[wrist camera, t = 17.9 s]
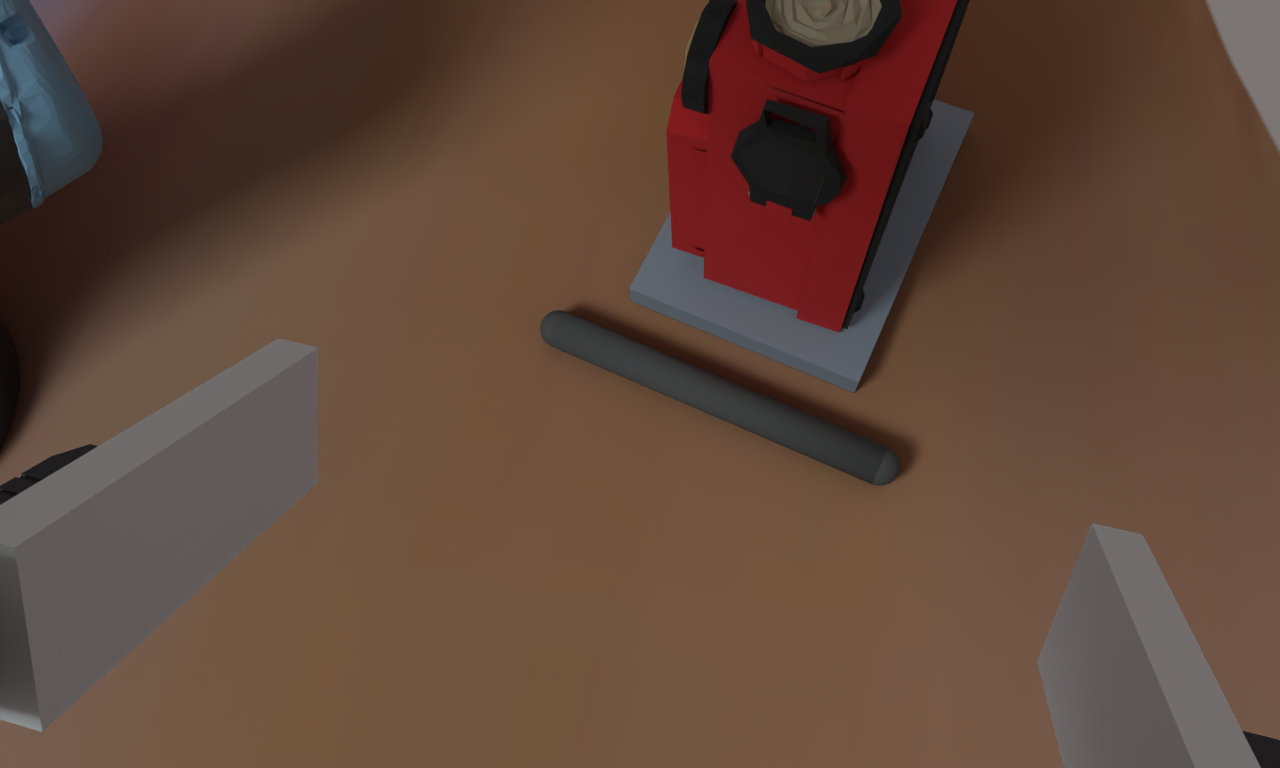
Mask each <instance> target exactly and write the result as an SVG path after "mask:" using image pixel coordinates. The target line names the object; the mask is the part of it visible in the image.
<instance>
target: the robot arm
mask: <svg viewBox="0 0 1280 768" xmlns="http://www.w3.org/2000/svg"><path fill="white" fill-rule="evenodd" d="M102 144H103V140H102V132H101V128H100V125H99V123H98V121H97V119H96V117H95V115H94V113H93V111H92V109H91V107H90V105H89V103H88V101H87V99H86V97H85V95H84V93H83V91H82V90H81V88H80V86H79V84H78V82H77V81H76V79H75V77H74V75H73V73H72V72H71V70H70V68H69V66H68V65H67V63H66V61H65V60H64V58H63V56H62V54H61V53H60V51H59V49H58V48H57V46H56V44H55V42H54V41H53V39H52V37H51V36H50V34H49V32H48V31H47V29H46V27H45V26H44V24H43V23H42V21H41V19H40V18H39V16H38V14H37V13H36V11H35V9H34V8H33V6H32V5H31V3H30V1H29V0H0V224H1V223H3V222H5V221H7V220H9V219H11V218H13V217H15V216H17V215H19V214H21V213H23V212H25V211H27V210H29V209H33V208H36V207H38V206H40V205H42V203H43V202H44V199H45V198H46V197H48V196H49V195H51V194H53V193H54V192H56V191H57V190H59V189H61V188H62V187H64V186H65V185H67V184H69V183H70V182H72V181H74V180H75V179H77V178H78V177H80V176H82V175H83V174H85V173H87V172H88V171H90V170H91V169H92V167H93V166H94V165H95V164H96V161H97V160H98V158H99V157H100V155H101V151H102ZM18 384H19V371H18V362H17V357H16V353H15V349H14V346H13V343H12V341H11V338H10V336H9V335H8V333H7V331H6V329H5V328H4V326H3V325H2V323H1V322H0V445H1V443H2V441H3V439H4V437H5V435H6V433H7V430H8V428H9V425H10V423H11V420H12V417H13V413H14V410H15V406H16V401H17V395H18ZM317 483H318V347H314V346H309V345H305V344H301V343H296V342H292V341H287V340H283V339H279V338H278V339H277V340H275V341H273V342H272V343H270V344H268V345H267V346H265V347H263V348H262V349H260V350H258V351H257V352H255V353H253V354H252V355H250V356H248V357H247V358H245V359H243V360H242V361H240V362H238V363H236V364H235V365H233V366H231V367H230V368H228V369H226V370H225V371H223V372H221V373H220V374H218V375H216V376H215V377H213V378H211V379H210V380H208V381H206V382H205V383H203V384H201V385H200V386H198V387H196V388H195V389H193V390H191V391H190V392H188V393H186V394H185V395H183V396H181V397H180V398H178V399H176V400H175V401H173V402H171V403H170V404H168V405H166V406H165V407H163V408H161V409H160V410H158V411H156V412H155V413H153V414H151V415H150V416H148V417H146V418H145V419H143V420H141V421H140V422H138V423H136V424H135V425H133V426H131V427H130V428H128V429H126V430H125V431H123V432H121V433H120V434H118V435H116V436H115V437H113V438H111V439H110V440H108V441H106V442H105V443H103V444H101V445H100V446H95V445H91V444H89V445H86V446H83V447H80V448H77V449H73V450H70V451H67V452H64V453H61V454H58V455H54V456H51V457H50V458H48V459H46V460H44V461H43V462H41V463H39V464H37V465H36V466H34V467H32V468H31V469H29V470H27V471H25V472H24V473H22V474H21V477H20V478H17V477H15V478H13V479H11V480H10V481H8V482H6V483H5V484H3V485H1V486H0V720H3V721H7V722H10V723H13V724H17V725H20V726H23V727H27V728H30V729H33V730H37V731H40V732H43V731H44V730H45V729H46V728H48V727H49V726H50V725H51V724H52V723H53V722H54V721H55V720H56V719H57V718H59V717H60V716H61V715H62V714H63V713H64V712H65V711H66V710H67V709H69V708H70V707H71V706H72V705H73V704H74V703H75V702H76V701H77V700H78V699H80V698H81V697H82V696H83V695H84V694H85V693H86V692H87V691H88V690H89V689H91V688H92V687H93V686H94V685H95V684H96V683H97V682H98V681H99V680H101V679H102V678H103V677H104V676H105V675H106V674H107V673H108V672H109V671H110V670H112V669H113V668H114V667H115V666H116V665H117V664H118V663H119V662H120V661H122V660H123V659H124V658H125V657H126V656H127V655H128V654H129V653H130V652H131V651H133V650H134V649H135V648H136V647H137V646H138V645H139V644H140V643H141V642H142V641H144V640H145V639H146V638H147V637H148V636H149V635H150V634H151V633H152V632H154V631H155V630H156V629H157V628H158V627H159V626H160V625H161V624H162V623H163V622H165V621H166V620H167V619H168V618H169V617H170V616H171V615H172V614H173V613H175V612H176V611H177V610H178V609H179V608H180V607H181V606H182V605H183V604H184V603H186V602H187V601H188V600H189V599H190V598H191V597H192V596H193V595H194V594H195V593H197V592H198V591H199V590H200V589H201V588H202V587H203V586H204V585H205V584H207V583H208V582H209V581H210V580H211V579H212V578H213V577H214V576H215V575H216V574H218V573H219V572H220V571H221V570H222V569H223V568H224V567H225V566H226V565H228V564H229V563H230V562H231V561H232V560H233V559H234V558H235V557H236V556H237V555H239V554H240V553H241V552H242V551H243V550H244V549H245V548H246V547H247V546H248V545H250V544H251V543H252V542H253V541H254V540H255V539H256V538H257V537H258V536H260V535H261V534H262V533H263V532H264V531H265V530H266V529H267V528H268V527H269V526H271V525H272V524H273V523H274V522H275V521H276V520H277V519H278V518H279V517H281V516H282V515H283V514H284V513H285V512H286V511H287V510H288V509H289V508H290V507H292V506H293V505H294V504H295V503H296V502H297V501H298V500H299V499H300V498H301V497H303V496H304V495H305V494H306V493H307V492H308V491H309V490H310V489H311V488H313V487H314V486H315V485H316V484H317ZM1037 664H1038V668H1039V671H1040V675H1041V679H1042V683H1043V687H1044V691H1045V695H1046V699H1047V703H1048V707H1049V711H1050V715H1051V719H1052V723H1053V726H1054V730H1055V734H1056V738H1057V742H1058V746H1059V750H1060V754H1061V758H1062V762H1063V766H1064V768H1280V741H1279V740H1277V739H1273V738H1269V737H1265V736H1261V735H1257V734H1253V733H1249V732H1245V731H1242V730H1241V728H1240V726H1239V724H1238V722H1237V720H1236V718H1235V716H1234V714H1233V712H1232V710H1231V708H1230V706H1229V704H1228V702H1227V700H1226V698H1225V696H1224V694H1223V692H1222V690H1221V688H1220V686H1219V684H1218V682H1217V680H1216V678H1215V676H1214V674H1213V672H1212V671H1211V669H1210V667H1209V665H1208V663H1207V661H1206V659H1205V657H1204V655H1203V653H1202V651H1201V649H1200V647H1199V645H1198V643H1197V641H1196V639H1195V637H1194V635H1193V633H1192V631H1191V629H1190V627H1189V625H1188V623H1187V621H1186V619H1185V617H1184V615H1183V613H1182V611H1181V609H1180V607H1179V605H1178V603H1177V601H1176V599H1175V597H1174V596H1173V594H1172V592H1171V590H1170V588H1169V586H1168V584H1167V582H1166V580H1165V578H1164V576H1163V574H1162V572H1161V570H1160V568H1159V566H1158V564H1157V562H1156V560H1155V558H1154V556H1153V554H1152V552H1151V550H1150V548H1149V546H1148V544H1147V542H1146V540H1145V538H1144V536H1143V535H1142V534H1138V533H1133V532H1129V531H1125V530H1120V529H1116V528H1111V527H1107V526H1102V525H1098V524H1094V523H1092V524H1091V526H1090V529H1089V531H1088V534H1087V536H1086V539H1085V541H1084V544H1083V546H1082V549H1081V551H1080V554H1079V556H1078V559H1077V561H1076V564H1075V567H1074V569H1073V572H1072V574H1071V577H1070V579H1069V582H1068V584H1067V587H1066V589H1065V592H1064V594H1063V597H1062V599H1061V602H1060V605H1059V607H1058V610H1057V612H1056V615H1055V617H1054V620H1053V622H1052V625H1051V627H1050V630H1049V632H1048V635H1047V637H1046V640H1045V642H1044V645H1043V648H1042V650H1041V653H1040V655H1039V658H1038V660H1037Z"/></svg>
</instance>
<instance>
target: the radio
mask: <svg viewBox="0 0 1280 768" xmlns="http://www.w3.org/2000/svg"><path fill="white" fill-rule="evenodd" d="M969 1H970V0H710V1H709V3H708V4H707V6H706V7H705V8H704V10H703V12H702V14H701V17H700V18H699V19H698V20H697V22H696V24H695V27H694V29H693V32H692V34H691V37H690V39H689V42H688V44H687V47H686V52H685V62H684V72H683V79H682V81H681V83H680V85H679V87H678V89H677V91H676V93H675V96H674V98H673V103H672V108H671V113H670V117H669V122H668V127H667V151H668V172H669V193H670V214H671V235H672V248H676V249H679V250H682V251H685V252H688V253H691V254H694V255H697V256H700V257H703V258H704V278H705V279H708V280H711V281H714V282H717V283H720V284H723V285H725V286H728V287H731V288H734V289H737V290H740V291H743V292H746V293H748V294H751V295H754V296H757V297H760V298H763V299H766V300H768V301H771V302H774V303H777V304H780V305H783V306H786V307H789V308H791V309H794V310H797V311H798V313H797V317H796V318H797V319H800V320H803V321H806V322H809V323H812V324H815V325H818V326H821V327H824V328H827V329H830V330H833V331H836V332H839V333H840V330H841V327H842V328H845V329H848V327H849V324H850V321H851V319H852V316H853V314H854V313H855V312H857V311H860V309H861V306H862V303H863V300H864V297H865V294H864V291H863V287H864V284H865V282H866V279H867V276H868V274H869V271H870V268H871V266H872V263H873V260H874V258H875V255H876V252H877V250H878V247H879V245H880V242H881V239H882V237H883V234H884V231H885V229H886V226H887V223H888V221H889V218H890V215H891V213H892V210H893V207H894V205H895V202H896V199H897V197H898V194H899V191H900V189H901V186H902V184H903V181H904V178H905V176H906V173H907V170H908V168H909V165H910V162H911V160H912V157H913V154H914V152H915V149H916V146H917V144H918V141H919V140H920V139H921V138H922V137H923V136H924V133H925V131H926V129H928V128H929V125H930V122H931V119H932V116H933V112H932V110H931V106H932V103H933V100H934V98H935V95H936V92H937V89H938V87H939V84H940V81H941V78H942V76H943V73H944V70H945V67H946V64H947V62H948V59H949V56H950V53H951V51H952V48H953V45H954V42H955V40H956V37H957V34H958V31H959V28H960V26H961V23H962V20H963V17H964V15H965V12H966V9H967V6H968V4H969Z"/></svg>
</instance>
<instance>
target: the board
mask: <svg viewBox="0 0 1280 768" xmlns="http://www.w3.org/2000/svg"><path fill="white" fill-rule="evenodd" d="M931 110H932V112H933V116H932V119H931V122H930V125H929V128H928V129H926V131H925V133H924V136H923V137H922V138H921V139H920V140H919V141H918V144H917V146H916V149H915V152H914V154H913V157H912V160H911V162H910V165H909V168H908V170H907V173H906V176H905V178H904V181H903V184H902V186H901V189H900V191H899V194H898V197H897V199H896V202H895V205H894V207H893V210H892V213H891V215H890V218H889V221H888V223H887V226H886V229H885V231H884V234H883V237H882V239H881V242H880V245H879V247H878V250H877V252H876V255H875V258H874V260H873V263H872V266H871V268H870V271H869V274H868V276H867V279H866V282H865V284H864V287H863V291H864V294H865V297H864V300H863V303H862V306H861V309H860V311H857V312H855V313H854V314H853V316H852V319H851V321H850V324H849V327H848V329H845V328H842V327H841V330H840V333H839V332H836V331H833V330H830V329H827V328H824V327H821V326H818V325H815V324H812V323H809V322H806V321H803V320H800V319H797V318H796V317H797V313H798V311H797V310H794V309H791V308H789V307H786V306H783V305H780V304H777V303H774V302H771V301H768V300H766V299H763V298H760V297H757V296H754V295H751V294H748V293H746V292H743V291H740V290H737V289H734V288H731V287H728V286H725V285H723V284H720V283H717V282H714V281H711V280H708V279H705V278H704V258H703V257H700V256H697V255H694V254H691V253H688V252H685V251H682V250H679V249H676V248H672V235H671V214H670V213H669V215H668V217H667V219H666V221H665V223H664V225H663V226H662V228H661V230H660V232H659V234H658V236H657V238H656V239H655V241H654V243H653V245H652V247H651V249H650V251H649V253H648V254H647V256H646V258H645V260H644V262H643V264H642V266H641V267H640V269H639V271H638V273H637V275H636V277H635V279H634V281H633V282H632V284H631V286H630V288H629V291H630V298H631V301H632V302H635V303H637V304H639V305H642V306H644V307H647V308H649V309H652V310H654V311H656V312H659V313H661V314H664V315H666V316H669V317H671V318H673V319H676V320H678V321H681V322H683V323H686V324H688V325H690V326H693V327H695V328H698V329H700V330H703V331H705V332H707V333H710V334H712V335H715V336H717V337H720V338H722V339H724V340H727V341H729V342H732V343H734V344H737V345H739V346H742V347H744V348H746V349H749V350H751V351H754V352H756V353H759V354H761V355H763V356H766V357H768V358H771V359H773V360H776V361H778V362H780V363H783V364H785V365H788V366H790V367H793V368H795V369H797V370H800V371H802V372H805V373H807V374H810V375H812V376H814V377H817V378H819V379H822V380H824V381H827V382H829V383H831V384H834V385H836V386H839V387H841V388H844V389H846V390H848V391H851V392H853V393H855V390H856V388H857V386H858V383H859V381H860V379H861V376H862V374H863V372H864V369H865V367H866V365H867V362H868V360H869V358H870V355H871V353H872V351H873V348H874V346H875V344H876V342H877V339H878V337H879V335H880V332H881V330H882V328H883V325H884V323H885V321H886V318H887V316H888V314H889V311H890V309H891V307H892V304H893V302H894V300H895V297H896V295H897V293H898V290H899V288H900V286H901V283H902V281H903V279H904V276H905V274H906V272H907V269H908V267H909V265H910V262H911V260H912V258H913V255H914V253H915V251H916V248H917V246H918V244H919V241H920V239H921V237H922V234H923V232H924V230H925V227H926V225H927V223H928V220H929V218H930V216H931V214H932V211H933V209H934V207H935V204H936V202H937V200H938V197H939V195H940V193H941V190H942V188H943V186H944V183H945V181H946V179H947V176H948V174H949V172H950V169H951V167H952V165H953V162H954V160H955V158H956V155H957V153H958V151H959V148H960V146H961V144H962V141H963V139H964V137H965V134H966V132H967V130H968V127H969V125H970V123H971V120H972V118H973V116H974V113H973V112H970V111H967V110H965V109H962V108H959V107H956V106H953V105H950V104H947V103H944V102H941V101H938V100H935V99H934V100H933V103H932V106H931Z"/></svg>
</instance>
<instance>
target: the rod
mask: <svg viewBox="0 0 1280 768" xmlns="http://www.w3.org/2000/svg"><path fill="white" fill-rule="evenodd" d="M540 331H541V335H542V338H543V339H544V341H545V342H546V343H547V344H549V345H550V346H552V347H555V348H557V349H559V350H562V351H564V352H566V353H569V354H571V355H573V356H575V357H578V358H580V359H582V360H585V361H587V362H589V363H592V364H594V365H596V366H599V367H601V368H603V369H606V370H608V371H610V372H613V373H615V374H617V375H620V376H622V377H624V378H627V379H629V380H631V381H634V382H636V383H638V384H641V385H643V386H645V387H648V388H650V389H652V390H655V391H657V392H659V393H661V394H664V395H666V396H668V397H671V398H673V399H675V400H678V401H680V402H682V403H685V404H687V405H689V406H692V407H694V408H696V409H699V410H701V411H703V412H706V413H708V414H710V415H713V416H715V417H717V418H720V419H722V420H724V421H727V422H729V423H731V424H734V425H736V426H738V427H740V428H743V429H745V430H747V431H750V432H752V433H754V434H757V435H759V436H761V437H764V438H766V439H768V440H771V441H773V442H775V443H778V444H780V445H782V446H785V447H787V448H789V449H792V450H794V451H796V452H799V453H801V454H803V455H806V456H808V457H810V458H813V459H815V460H817V461H820V462H822V463H824V464H826V465H829V466H831V467H833V468H836V469H838V470H840V471H843V472H845V473H847V474H850V475H852V476H854V477H857V478H859V479H861V480H864V481H866V482H868V483H871V484H874V485H879V486H880V485H886V484H889V483H891V482H892V481H893V480H895V478H896V477H897V476H898V474H899V471H900V461H899V458H898V456H897V454H896V453H895V452H894V451H893V450H892V449H890V448H889V447H887V446H884V445H882V444H879V443H877V442H875V441H872V440H870V439H868V438H865V437H863V436H860V435H858V434H856V433H853V432H851V431H849V430H846V429H844V428H841V427H839V426H837V425H834V424H832V423H830V422H827V421H825V420H822V419H820V418H818V417H815V416H813V415H810V414H808V413H806V412H803V411H801V410H799V409H796V408H794V407H791V406H789V405H787V404H784V403H782V402H780V401H777V400H775V399H772V398H770V397H768V396H765V395H763V394H761V393H758V392H756V391H753V390H751V389H749V388H746V387H744V386H742V385H739V384H737V383H734V382H732V381H730V380H727V379H725V378H722V377H720V376H718V375H715V374H713V373H711V372H708V371H706V370H703V369H701V368H699V367H696V366H694V365H692V364H689V363H687V362H684V361H682V360H680V359H677V358H675V357H673V356H670V355H668V354H665V353H663V352H661V351H658V350H656V349H654V348H651V347H649V346H646V345H644V344H642V343H639V342H637V341H634V340H632V339H630V338H627V337H625V336H623V335H620V334H618V333H615V332H613V331H611V330H608V329H606V328H604V327H601V326H599V325H596V324H594V323H592V322H589V321H587V320H585V319H582V318H580V317H577V316H575V315H573V314H570V313H568V312H565V311H560V310H558V311H553V312H550V313H549V314H547V315H546V316H545V317H544V319H543V320H542V323H541V327H540Z"/></svg>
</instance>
